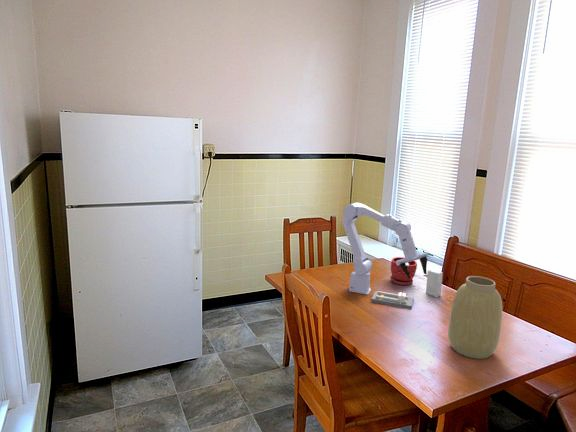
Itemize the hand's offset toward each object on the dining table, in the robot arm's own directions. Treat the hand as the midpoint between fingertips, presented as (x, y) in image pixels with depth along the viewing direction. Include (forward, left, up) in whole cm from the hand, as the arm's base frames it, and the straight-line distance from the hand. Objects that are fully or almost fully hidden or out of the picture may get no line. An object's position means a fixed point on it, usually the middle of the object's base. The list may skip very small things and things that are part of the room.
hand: (417, 276), depth 187 cm
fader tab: (-6, -2, -12) cm, 13 cm away
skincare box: (+7, +16, -14) cm, 23 cm away
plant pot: (-9, +26, -14) cm, 31 cm away
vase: (+23, -33, -14) cm, 42 cm away
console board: (-10, -2, -14) cm, 17 cm away
